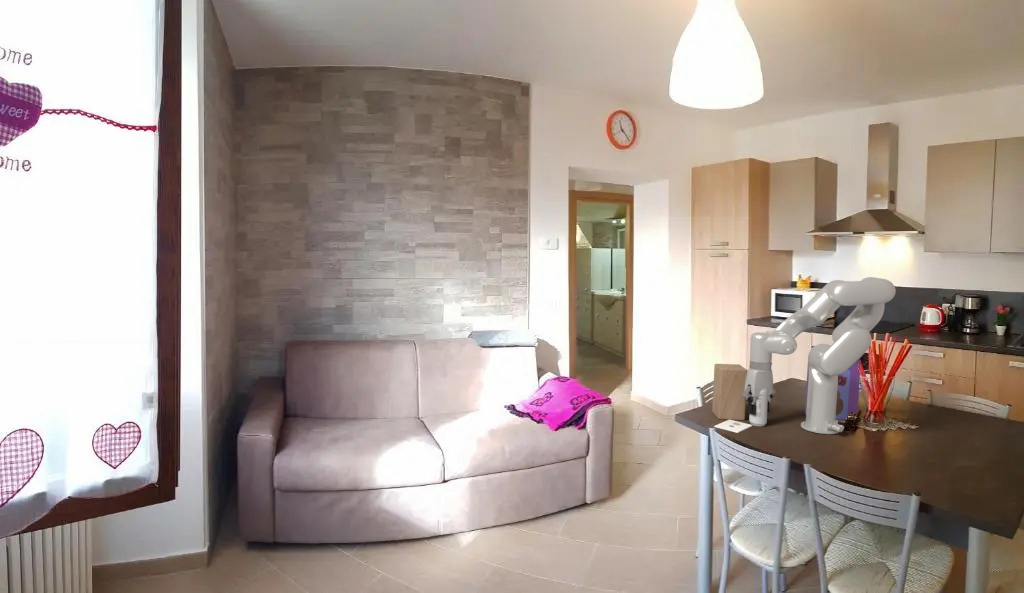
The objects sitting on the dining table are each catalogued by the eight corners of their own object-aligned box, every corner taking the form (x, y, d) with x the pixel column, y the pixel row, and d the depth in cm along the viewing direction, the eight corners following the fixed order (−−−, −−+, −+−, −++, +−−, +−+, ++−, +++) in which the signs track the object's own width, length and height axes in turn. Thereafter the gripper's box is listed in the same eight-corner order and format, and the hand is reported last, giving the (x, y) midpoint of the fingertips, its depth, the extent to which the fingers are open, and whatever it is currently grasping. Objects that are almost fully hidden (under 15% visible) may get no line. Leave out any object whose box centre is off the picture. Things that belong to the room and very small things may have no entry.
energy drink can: (770, 425, 214) (771, 386, 212) (757, 427, 212) (759, 387, 210) (757, 421, 219) (759, 382, 218) (745, 422, 217) (747, 384, 216)
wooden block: (737, 413, 230) (740, 364, 228) (745, 420, 220) (747, 369, 218) (711, 412, 231) (714, 363, 229) (718, 419, 221) (720, 368, 219)
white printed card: (752, 425, 214) (752, 424, 214) (737, 432, 206) (737, 431, 206) (729, 420, 220) (729, 419, 220) (714, 426, 212) (714, 425, 212)
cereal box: (807, 417, 226) (811, 357, 223) (804, 413, 230) (808, 355, 228) (856, 421, 222) (861, 360, 219) (852, 417, 226) (856, 357, 224)
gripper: (769, 362, 220) (767, 407, 222) (735, 365, 213) (733, 412, 215) (785, 365, 213) (783, 413, 215) (750, 369, 207) (748, 418, 208)
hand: (758, 412), depth 215 cm, fingers closed on energy drink can, 6 cm apart
